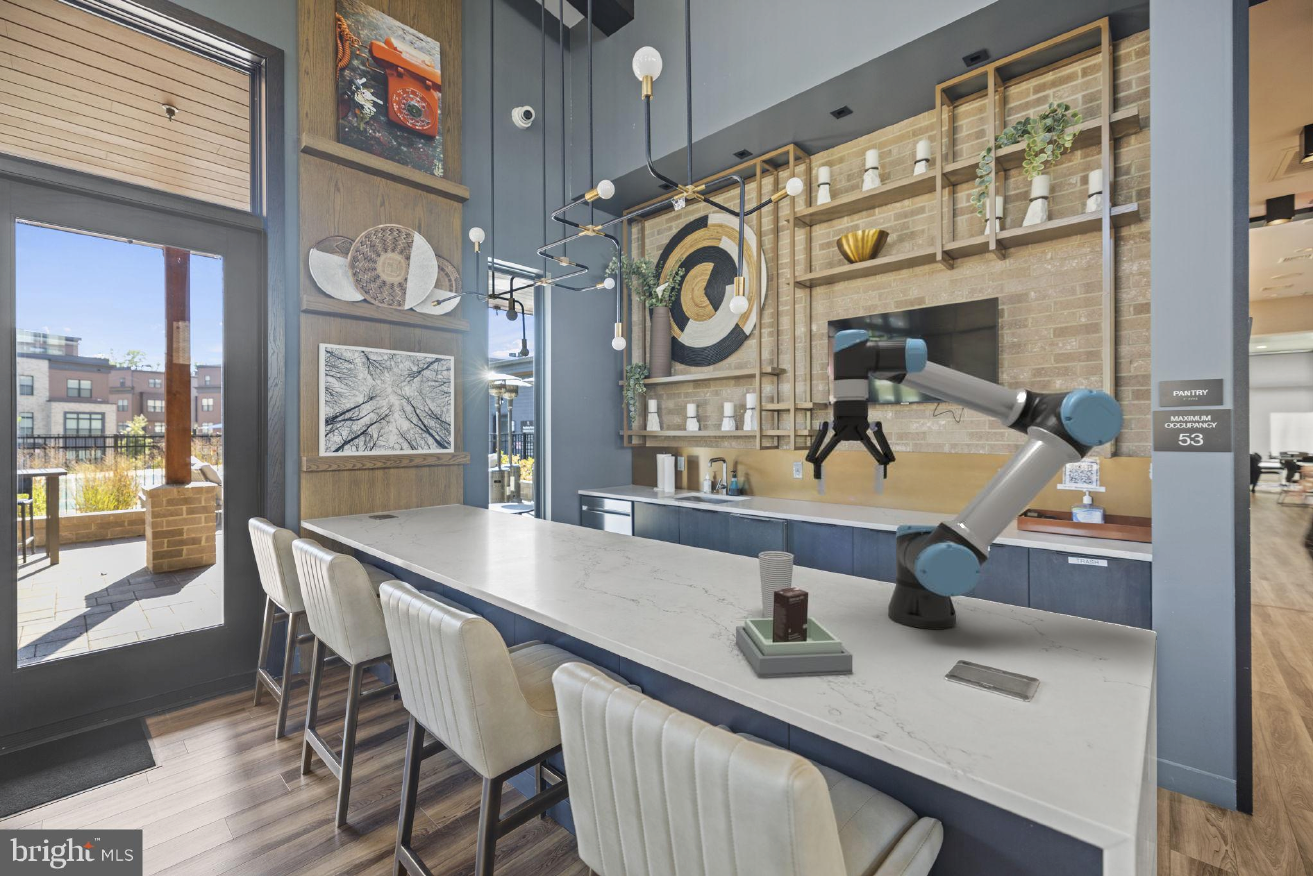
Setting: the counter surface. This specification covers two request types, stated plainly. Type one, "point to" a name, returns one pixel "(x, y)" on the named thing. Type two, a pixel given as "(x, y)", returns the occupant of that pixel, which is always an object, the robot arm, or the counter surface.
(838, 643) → the crates
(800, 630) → the box
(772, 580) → the cup
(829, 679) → the counter surface
